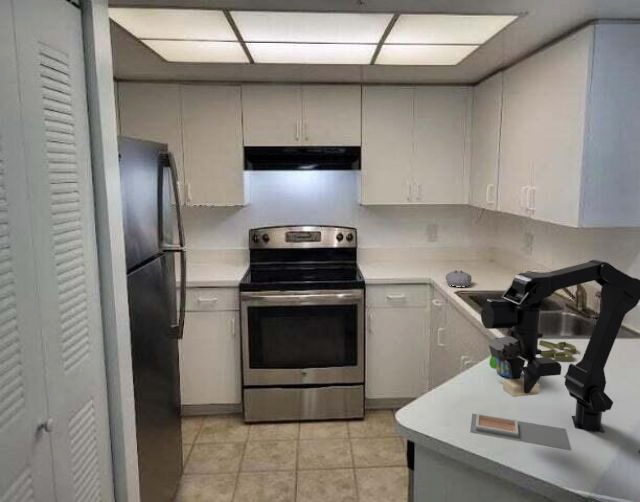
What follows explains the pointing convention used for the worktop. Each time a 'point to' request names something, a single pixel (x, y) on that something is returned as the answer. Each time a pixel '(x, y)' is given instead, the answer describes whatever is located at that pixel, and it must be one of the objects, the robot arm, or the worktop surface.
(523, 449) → the worktop surface
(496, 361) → the snack cup
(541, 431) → the mat
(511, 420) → the frame
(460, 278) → the grey rounded lump
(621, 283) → the robot arm
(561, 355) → the cookie cutter
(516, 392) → the block
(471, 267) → the worktop surface
